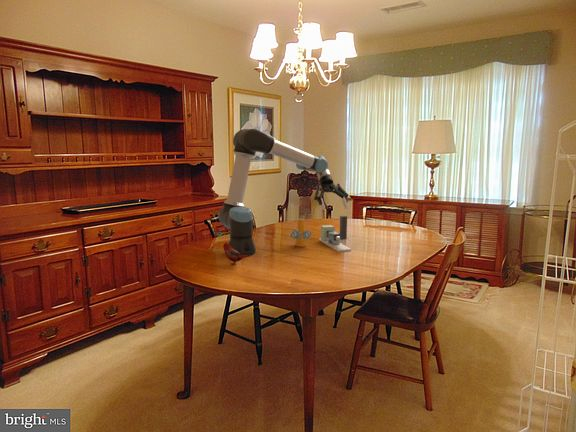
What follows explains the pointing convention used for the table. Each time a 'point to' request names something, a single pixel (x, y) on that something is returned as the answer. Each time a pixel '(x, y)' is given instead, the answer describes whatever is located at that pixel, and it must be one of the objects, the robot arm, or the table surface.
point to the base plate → (336, 246)
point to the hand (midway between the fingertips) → (335, 208)
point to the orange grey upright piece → (301, 233)
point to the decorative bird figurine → (232, 254)
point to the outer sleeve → (331, 238)
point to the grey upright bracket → (342, 230)
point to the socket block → (326, 231)
